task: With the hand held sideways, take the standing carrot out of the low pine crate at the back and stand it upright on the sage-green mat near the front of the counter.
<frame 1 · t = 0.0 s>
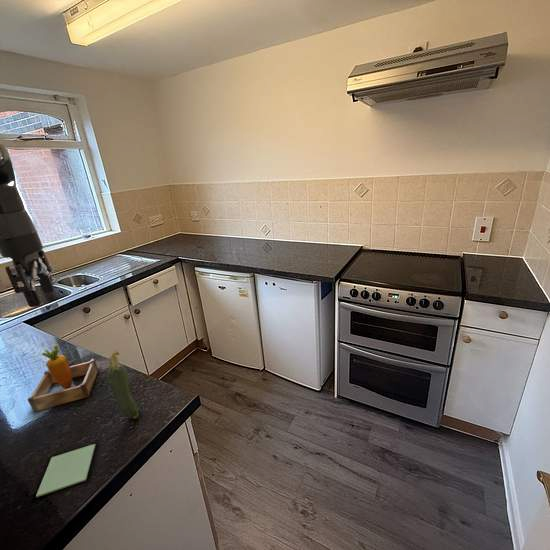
hand: (43, 298, 72), 33 cm above the countertop, tool pointing down, fingers open, 8 cm apart
crate: (68, 389, 90), on the countertop
vegetable: (132, 417, 77), on the countertop
mat: (68, 469, 65), on the countertop
carrot: (69, 389, 90), resting in crate
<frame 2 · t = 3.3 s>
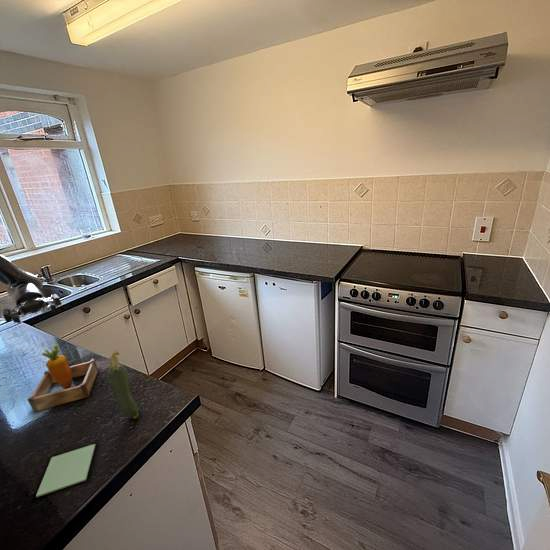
hand: (35, 314, 89), 22 cm above the countertop, tool horizontal, fingers open, 8 cm apart
nothing on the countertop moved.
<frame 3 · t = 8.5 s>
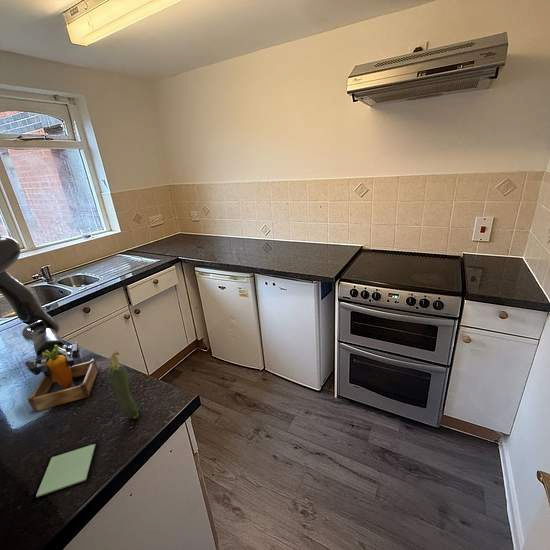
hand: (60, 368, 85), 9 cm above the countertop, tool horizontal, fingers closed on carrot, 5 cm apart
carrot: (69, 389, 90), resting in crate, touching gripper
everything else where it was.
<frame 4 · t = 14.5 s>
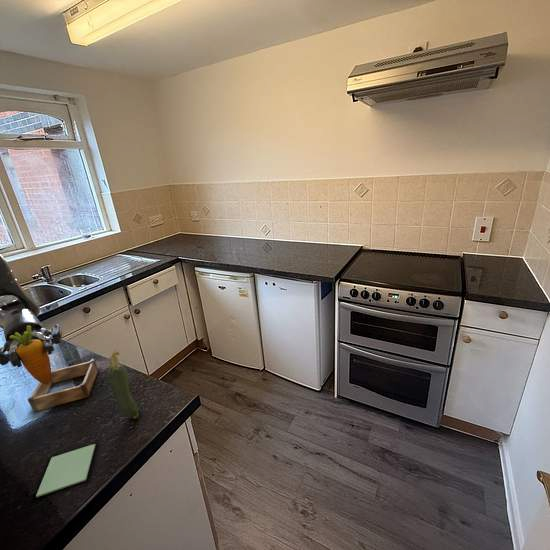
hand: (34, 356, 65), 24 cm above the countertop, tool horizontal, fingers closed on carrot, 5 cm apart
carrot: (47, 384, 70), point 15 cm above the countertop, touching gripper
everything else where it was.
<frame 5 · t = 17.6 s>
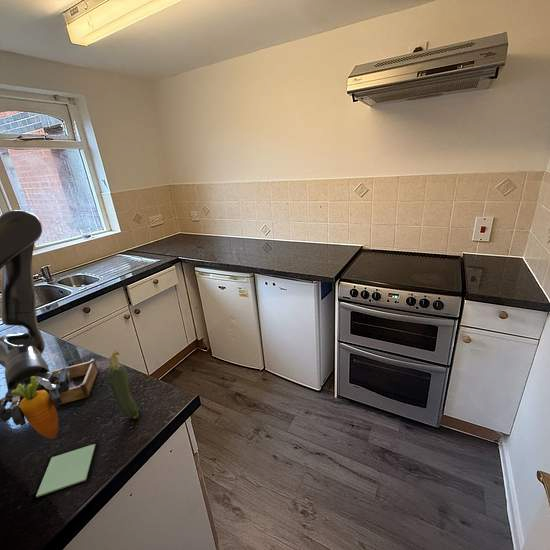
hand: (39, 412, 57), 18 cm above the countertop, tool horizontal, fingers closed on carrot, 5 cm apart
carrot: (54, 438, 62), point 9 cm above the countertop, touching gripper
everything else where it was.
when the fingers open (9 cm above the countertop, at t = 20.4 s): carrot stays where it is, resting on mat.
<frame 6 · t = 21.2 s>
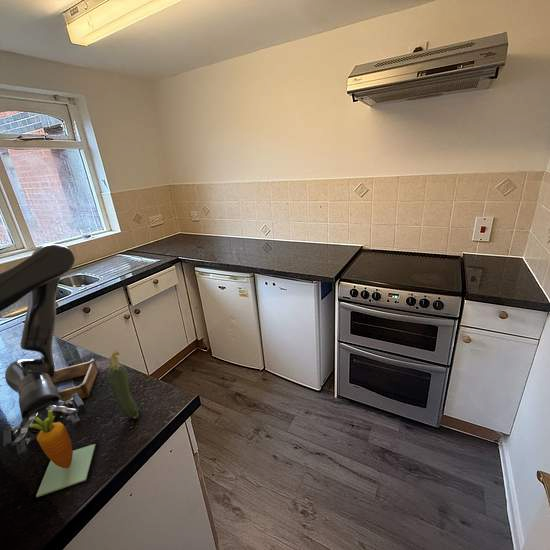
hand: (52, 440, 60), 10 cm above the countertop, tool horizontal, fingers open, 8 cm apart
carrot: (68, 467, 65), resting on mat
everything else where it was.
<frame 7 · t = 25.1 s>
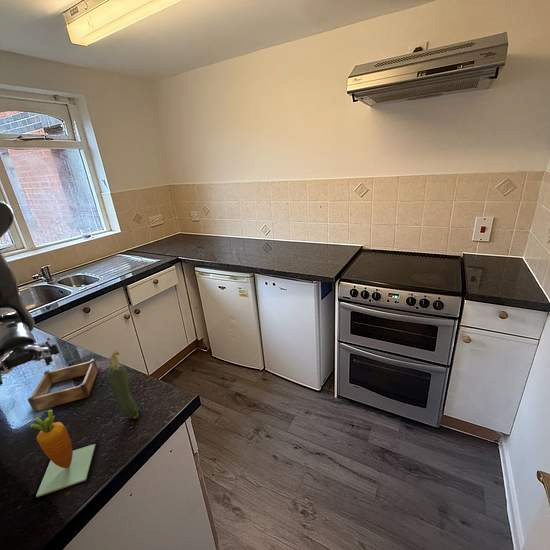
hand: (24, 371, 65), 21 cm above the countertop, tool horizontal, fingers open, 8 cm apart
nothing on the countertop moved.
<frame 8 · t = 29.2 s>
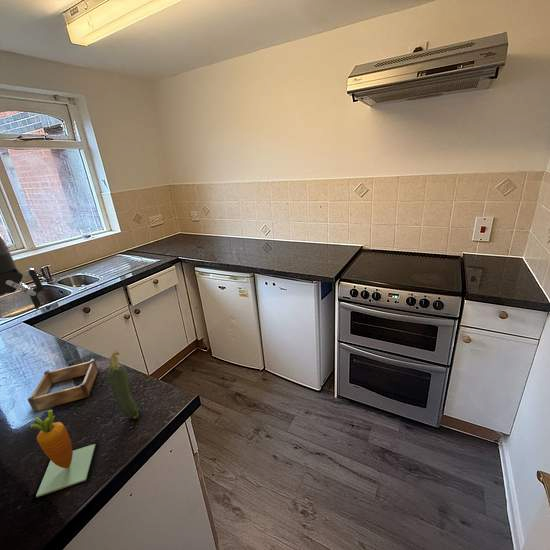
hand: (16, 314, 76), 28 cm above the countertop, tool pointing down, fingers open, 8 cm apart
nothing on the countertop moved.
at the end: carrot inside the target area on the mat (0.1 cm from its centre), point 0.2 cm above the mat's base; carrot tilted 0°; the gripper is holding nothing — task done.
